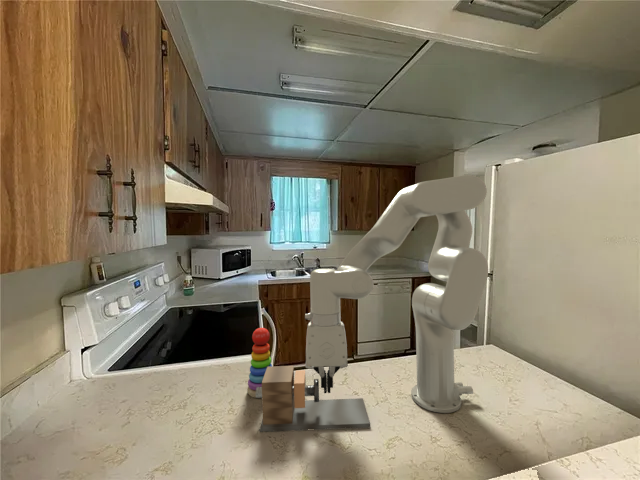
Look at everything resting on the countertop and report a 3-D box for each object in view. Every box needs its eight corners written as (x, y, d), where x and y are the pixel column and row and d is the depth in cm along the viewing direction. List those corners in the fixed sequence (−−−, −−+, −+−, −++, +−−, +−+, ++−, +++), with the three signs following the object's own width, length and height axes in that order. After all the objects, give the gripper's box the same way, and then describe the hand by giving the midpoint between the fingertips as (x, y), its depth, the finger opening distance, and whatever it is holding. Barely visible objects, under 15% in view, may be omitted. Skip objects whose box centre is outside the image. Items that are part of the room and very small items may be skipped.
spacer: (305, 392, 73) (305, 370, 73) (304, 407, 66) (304, 383, 66) (296, 392, 73) (295, 370, 73) (294, 408, 66) (293, 383, 66)
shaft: (318, 394, 72) (318, 374, 72) (319, 406, 67) (318, 385, 67) (259, 396, 72) (258, 377, 72) (254, 409, 67) (254, 388, 67)
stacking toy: (268, 400, 77) (266, 334, 76) (242, 398, 78) (240, 332, 78) (278, 385, 84) (277, 324, 84) (254, 383, 86) (252, 323, 86)
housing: (362, 401, 75) (361, 361, 75) (370, 427, 65) (369, 380, 65) (267, 405, 74) (266, 364, 74) (260, 431, 64) (258, 385, 64)
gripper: (295, 323, 65) (296, 400, 66) (357, 322, 66) (358, 398, 66) (296, 314, 73) (298, 383, 73) (353, 313, 73) (354, 381, 73)
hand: (327, 390), depth 70 cm, fingers closed
